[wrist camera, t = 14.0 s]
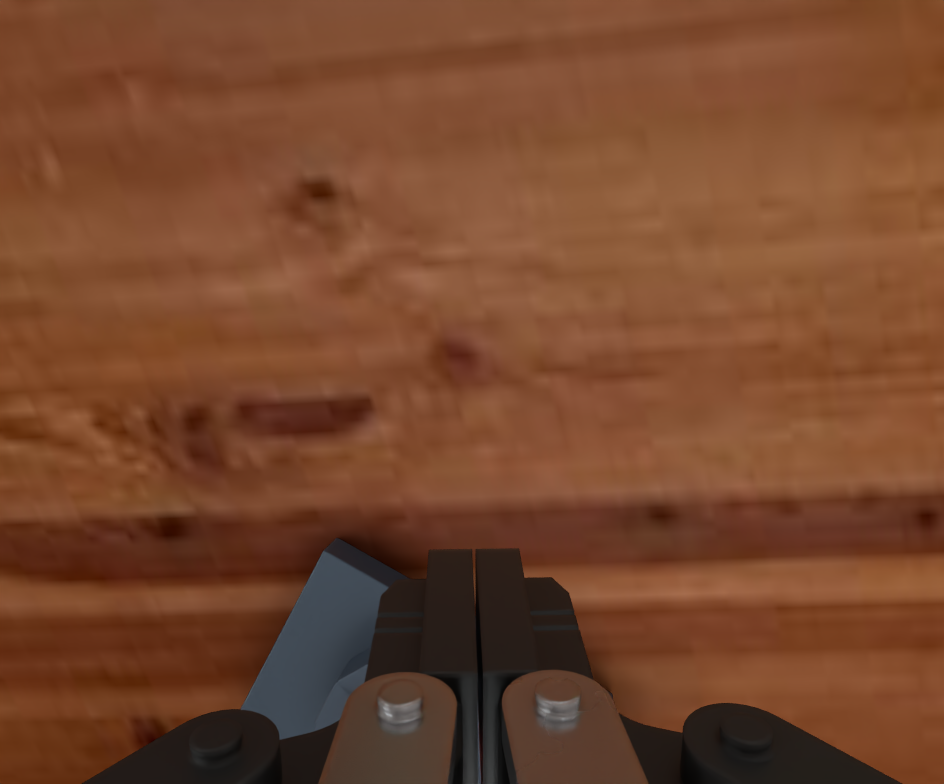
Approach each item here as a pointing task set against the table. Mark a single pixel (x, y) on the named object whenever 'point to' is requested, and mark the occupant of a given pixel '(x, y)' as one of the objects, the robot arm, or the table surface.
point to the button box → (324, 644)
